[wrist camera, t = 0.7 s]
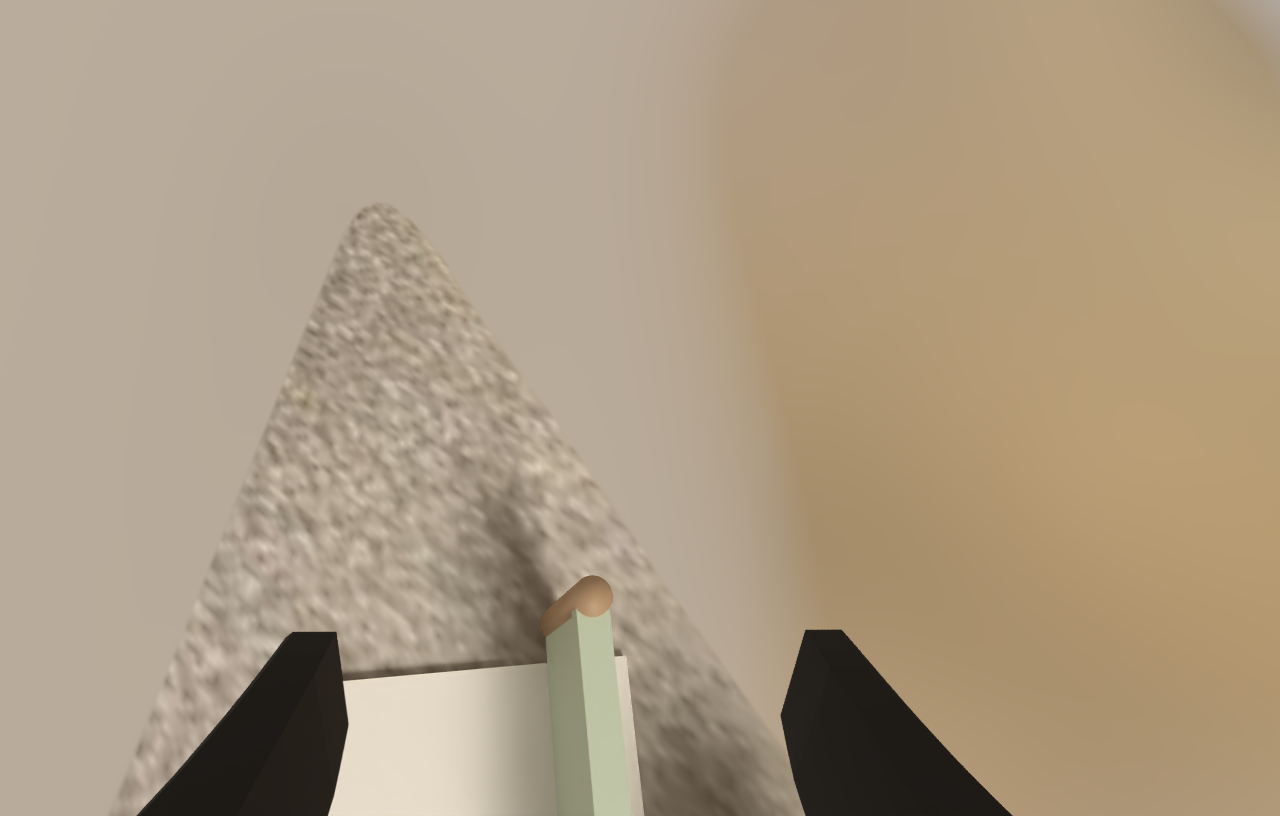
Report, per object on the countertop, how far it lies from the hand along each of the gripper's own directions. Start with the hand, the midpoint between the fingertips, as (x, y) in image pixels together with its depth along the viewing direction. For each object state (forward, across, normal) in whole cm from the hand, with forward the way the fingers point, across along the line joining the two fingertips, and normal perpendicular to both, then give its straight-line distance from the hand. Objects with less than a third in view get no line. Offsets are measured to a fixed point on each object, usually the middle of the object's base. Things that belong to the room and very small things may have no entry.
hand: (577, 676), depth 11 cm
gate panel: (+10, -1, +15) cm, 19 cm away
